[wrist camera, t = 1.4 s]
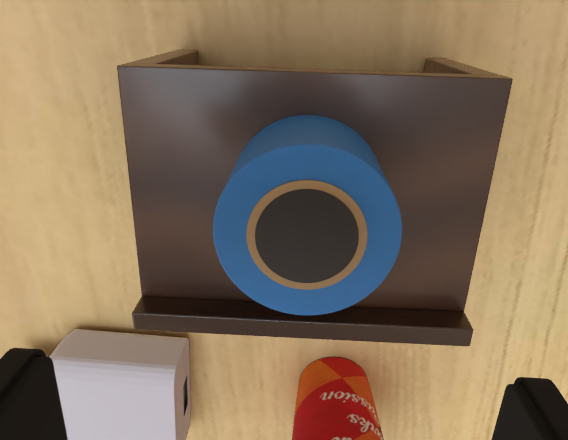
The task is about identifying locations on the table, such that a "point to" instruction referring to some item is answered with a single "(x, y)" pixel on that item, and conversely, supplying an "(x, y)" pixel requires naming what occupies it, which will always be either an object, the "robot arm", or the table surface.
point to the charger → (123, 385)
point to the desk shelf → (386, 147)
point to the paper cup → (335, 403)
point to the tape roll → (307, 218)
